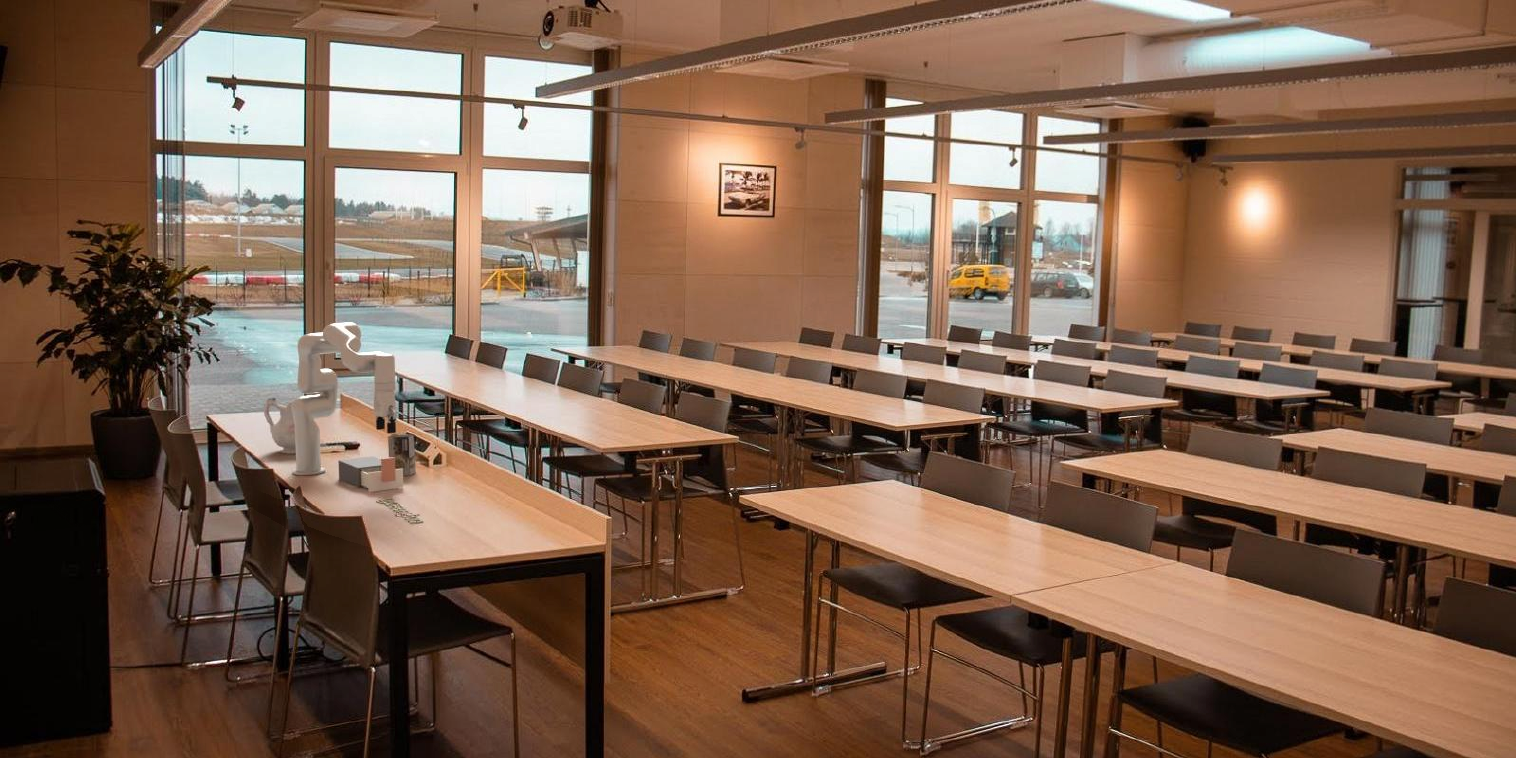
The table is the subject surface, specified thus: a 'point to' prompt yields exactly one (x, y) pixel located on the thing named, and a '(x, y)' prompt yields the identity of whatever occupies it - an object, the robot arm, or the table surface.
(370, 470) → the box with pink tab
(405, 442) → the coffee box
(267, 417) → the ceramic pitcher
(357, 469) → the low grey box
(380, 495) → the table surface
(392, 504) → the text sign
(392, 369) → the robot arm
